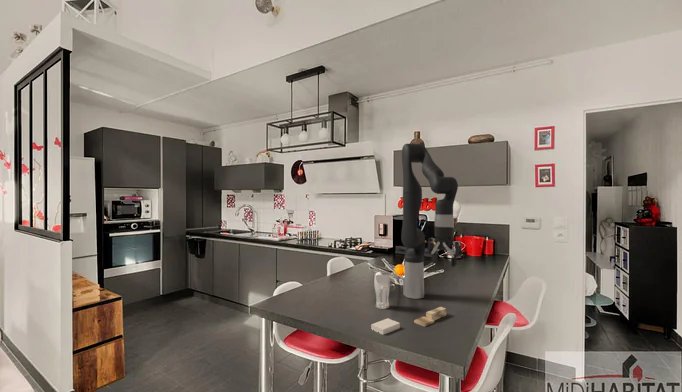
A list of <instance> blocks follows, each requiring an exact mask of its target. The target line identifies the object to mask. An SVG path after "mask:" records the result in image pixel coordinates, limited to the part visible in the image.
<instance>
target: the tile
mask: <svg viewBox="0 0 682 392" xmlns="http://www.w3.org/2000/svg"><path fill="white" fill-rule="evenodd" d="M370 327H371V328H370V329H372V331H373V330H374V331H373V332H376V333H378V332H379V333H378V334H381V335H386V334H389V333H391V332H394V331H396V330H399V329H401V323H400V322H398V321H396V320H392V319H391V318H388V317H387V318H384V319H382V320H380V321H377V322H374V323H372V324H371V325H370Z"/></svg>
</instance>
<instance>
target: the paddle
mask: <svg viewBox="0 0 682 392" xmlns="http://www.w3.org/2000/svg"><path fill="white" fill-rule="evenodd" d="M446 316H447V308H446V307H443V306H439V307H435V308H434V309H431V310H428V311H426V312H425V316H421V317H419V318H416V319H414V320H413V322H414V323H415V324H417V325H419V326H422V327H427V326H428V327H429V326H430V325H432V324H434V323H435V321H436V320H439V319H441V317H442V318H444V317H446Z"/></svg>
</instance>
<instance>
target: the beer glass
mask: <svg viewBox="0 0 682 392" xmlns="http://www.w3.org/2000/svg"><path fill="white" fill-rule="evenodd" d="M390 279H391V277H390V272H387V271H375V272H374V279H373V282H374V284H373V286H374V292H375V298H376V300H375V301H376V302H375V308H376V309H379V310H388V309H389V308H390V303H389V295H390V289H391V288H390V287H391V281H390Z"/></svg>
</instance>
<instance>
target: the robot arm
mask: <svg viewBox="0 0 682 392" xmlns="http://www.w3.org/2000/svg"><path fill="white" fill-rule="evenodd" d="M413 163H414V164H415V163H417V164H418V163H420V164H421V165H422V166H421V173H422V174H423V176H424V177H425V178H426V179H427V181H428V182H429V186H430V187H429V188H430V190H431V191H432V192H433V193H435V194H436V195H444V197H443V198H441V199H438V200H436V201H435V204H434V208H435V209H434V212H435V214H434V237H428V240H427V241H428V242H427V252H428V253H430V254H431V262H432V263H433V264H437V263H438V252H439V251H445V252H446V251H447V253H448V254H449V255H450V256H451V258H450V268H455V267H456V266H457V264H458V263H457V259H458V258H459V257H462V253H463V252H462V241H461V240H458V241H457V240H454V236H455V231H454V230H455V228H454V227H455V219H454V202H455V199H456V195H457V193H458V189H459V184H458V181H457V179H456V178H455V177H453V176H445V173H444V172H443V170H442V169H441V168H440V166H438V165H437V164H436V162H434V160H433V158H432V157H431V155H430V152H429V151H428V149H427V148H426V147H425V145H423V144H422V143H405V144H404V145H403V146H402V148H401V165H402V227H401V243H402V245H403V247H405V248H406V249H407V251H406V253H405V255H404V256H403V257H404V275H403V277H402V291H403V292H402V294H403V296H405V297H406V298H408V299H413V300H419V299H423V298H424V297H425V278H424V277H425V270H424V258H425V254H426V236H425V233H424V232H423V230H421V229H420V228H418V227H417V226H418V216H419V213H420V211H421V208H422V204H423V188H422V186H421V184H420V182H419V181H418V179H417V178H416V176H415V174H414V171H413V166H412V165H413Z"/></svg>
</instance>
